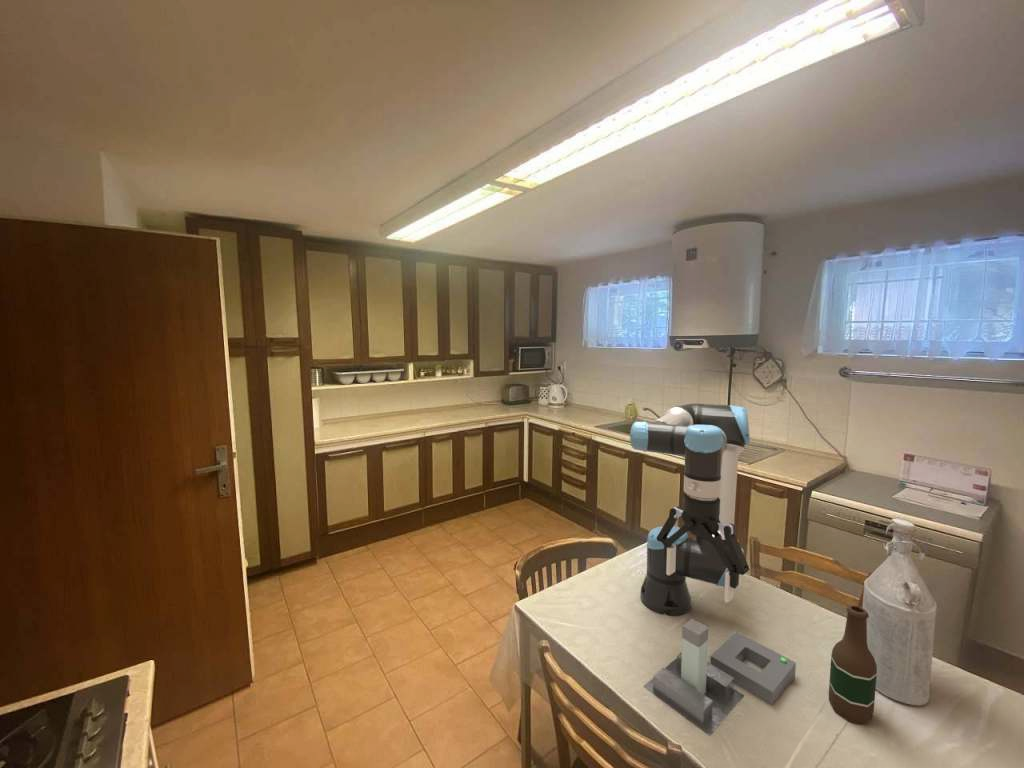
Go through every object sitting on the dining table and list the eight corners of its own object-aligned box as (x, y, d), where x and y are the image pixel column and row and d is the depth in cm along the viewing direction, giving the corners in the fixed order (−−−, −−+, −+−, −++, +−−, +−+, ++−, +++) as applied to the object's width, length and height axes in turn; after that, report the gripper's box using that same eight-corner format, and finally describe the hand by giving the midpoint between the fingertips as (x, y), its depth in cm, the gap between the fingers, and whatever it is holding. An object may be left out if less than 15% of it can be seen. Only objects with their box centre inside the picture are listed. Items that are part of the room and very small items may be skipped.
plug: (680, 689, 98) (682, 625, 97) (689, 681, 101) (691, 618, 99) (697, 701, 95) (699, 635, 93) (705, 692, 97) (708, 627, 96)
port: (710, 670, 105) (710, 653, 104) (735, 645, 113) (736, 629, 113) (771, 708, 94) (772, 689, 93) (794, 677, 102) (796, 660, 102)
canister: (869, 698, 96) (882, 532, 92) (850, 649, 112) (860, 505, 108) (944, 720, 90) (961, 544, 87) (913, 665, 106) (926, 514, 102)
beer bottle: (819, 697, 97) (826, 599, 94) (850, 694, 97) (858, 597, 95) (849, 727, 89) (857, 622, 87) (882, 724, 90) (891, 619, 87)
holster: (643, 689, 99) (643, 672, 99) (679, 658, 109) (680, 642, 109) (709, 739, 87) (710, 720, 86) (744, 698, 96) (745, 681, 96)
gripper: (643, 484, 101) (641, 568, 103) (754, 517, 81) (749, 620, 83) (660, 477, 105) (658, 558, 107) (770, 507, 86) (764, 605, 88)
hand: (698, 585), depth 95 cm, fingers open, 13 cm apart
